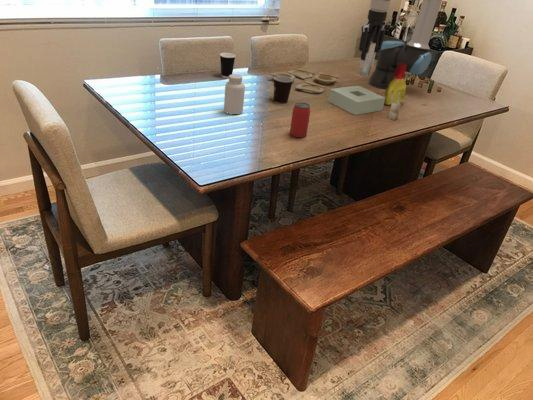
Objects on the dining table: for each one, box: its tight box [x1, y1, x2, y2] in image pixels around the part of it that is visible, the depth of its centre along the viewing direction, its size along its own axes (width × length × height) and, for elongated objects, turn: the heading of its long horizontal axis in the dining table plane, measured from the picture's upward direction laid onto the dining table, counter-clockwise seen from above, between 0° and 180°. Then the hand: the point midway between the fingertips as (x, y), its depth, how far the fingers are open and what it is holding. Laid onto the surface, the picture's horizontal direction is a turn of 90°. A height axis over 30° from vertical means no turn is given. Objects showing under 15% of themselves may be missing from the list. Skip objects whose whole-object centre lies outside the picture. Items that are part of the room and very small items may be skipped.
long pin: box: [359, 41, 376, 77], centre depth 190 cm, size 4×4×14 cm
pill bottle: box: [223, 73, 246, 115], centre depth 177 cm, size 8×8×15 cm
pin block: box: [327, 85, 385, 116], centre depth 202 cm, size 18×18×6 cm
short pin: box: [387, 102, 402, 121], centre depth 193 cm, size 4×4×7 cm
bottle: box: [384, 63, 407, 106], centre depth 207 cm, size 12×6×20 cm, turn 120°
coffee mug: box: [273, 76, 294, 104], centre depth 198 cm, size 12×9×10 cm
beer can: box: [289, 101, 311, 138], centre depth 165 cm, size 7×7×12 cm
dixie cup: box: [219, 52, 236, 79], centre depth 218 cm, size 8×8×11 cm
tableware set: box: [268, 67, 341, 94], centre depth 227 cm, size 35×29×4 cm
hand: (366, 66), depth 192 cm, fingers closed on long pin, 4 cm apart
